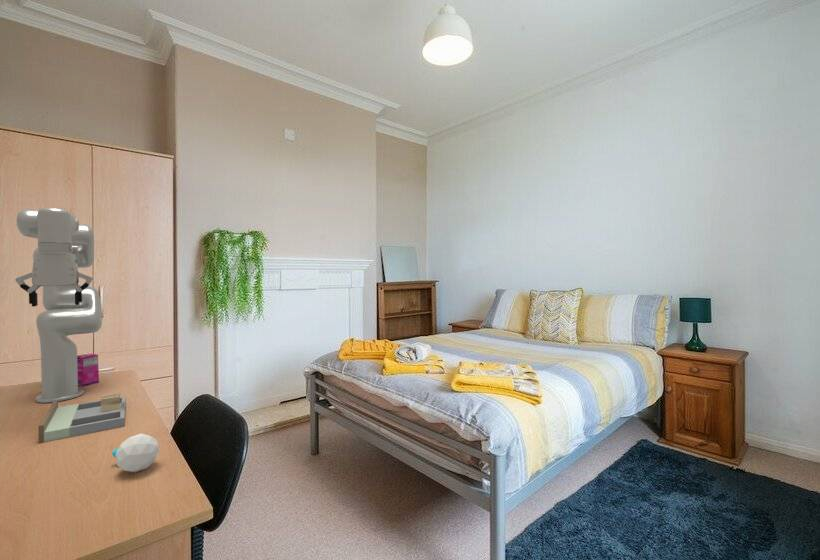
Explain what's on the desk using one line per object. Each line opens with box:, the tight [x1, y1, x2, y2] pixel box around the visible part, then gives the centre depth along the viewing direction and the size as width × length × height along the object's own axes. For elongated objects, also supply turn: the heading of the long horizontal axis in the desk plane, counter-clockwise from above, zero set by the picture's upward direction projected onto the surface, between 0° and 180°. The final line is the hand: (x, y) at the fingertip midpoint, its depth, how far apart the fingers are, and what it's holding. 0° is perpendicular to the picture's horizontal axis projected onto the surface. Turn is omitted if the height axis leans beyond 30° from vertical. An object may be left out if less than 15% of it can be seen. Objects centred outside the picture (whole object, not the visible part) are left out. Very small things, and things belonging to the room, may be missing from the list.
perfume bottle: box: [111, 432, 160, 473], centre depth 87 cm, size 8×8×12 cm
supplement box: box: [77, 352, 100, 387], centre depth 151 cm, size 6×6×12 cm
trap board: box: [38, 396, 127, 444], centre depth 114 cm, size 23×18×4 cm
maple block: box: [100, 392, 121, 412], centre depth 117 cm, size 4×4×4 cm
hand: (56, 305), depth 115 cm, fingers open, 9 cm apart
